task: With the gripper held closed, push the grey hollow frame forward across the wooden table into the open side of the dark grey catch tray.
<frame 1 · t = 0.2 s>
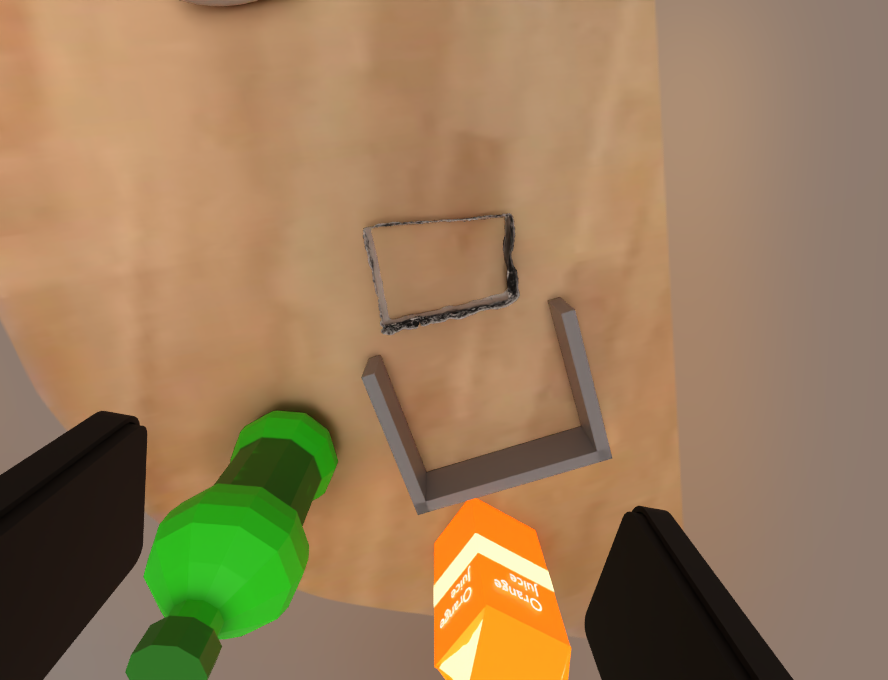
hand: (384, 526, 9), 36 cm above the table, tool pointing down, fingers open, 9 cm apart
catch tray: (483, 391, 48), on the table
orange juice: (484, 535, 54), on the table
plastic bottle: (296, 439, 49), on the table
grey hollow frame: (443, 267, 45), on the table
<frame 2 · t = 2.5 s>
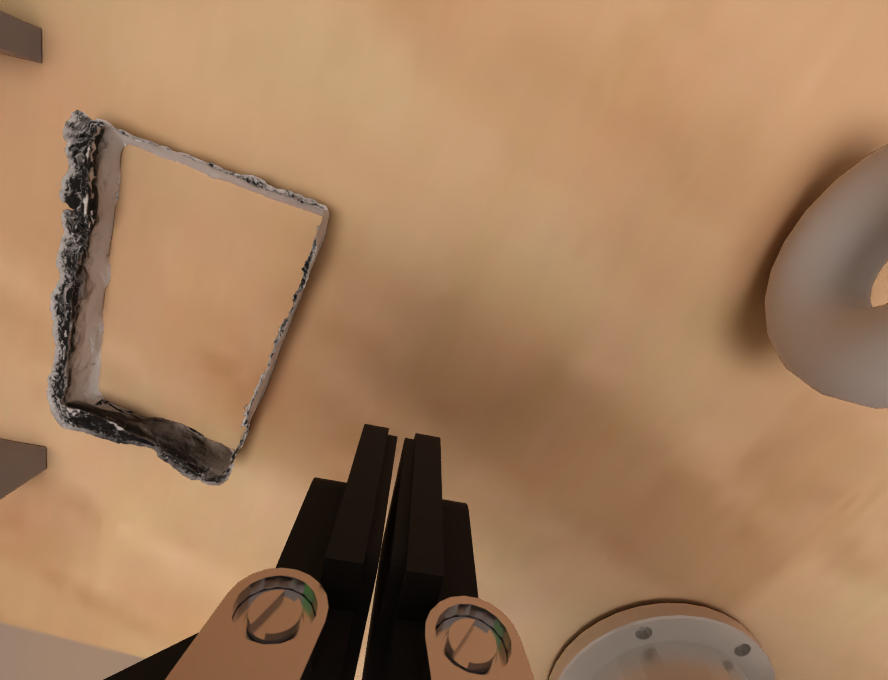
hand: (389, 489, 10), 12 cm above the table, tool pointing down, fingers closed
donut: (795, 250, 21), on the table
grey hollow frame: (196, 305, 22), on the table
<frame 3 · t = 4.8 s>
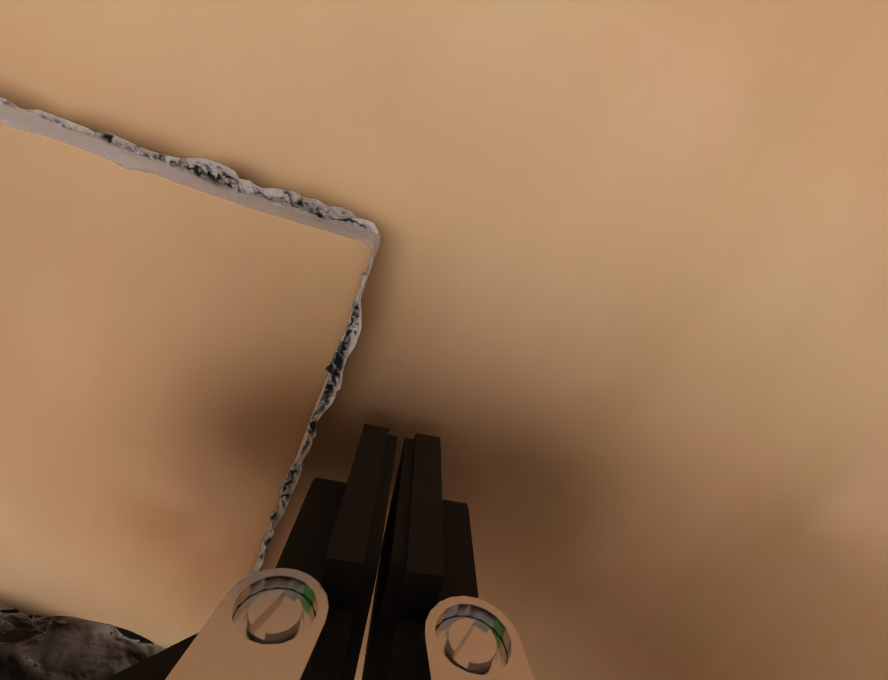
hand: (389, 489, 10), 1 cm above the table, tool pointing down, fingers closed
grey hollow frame: (119, 417, 11), on the table, touching gripper
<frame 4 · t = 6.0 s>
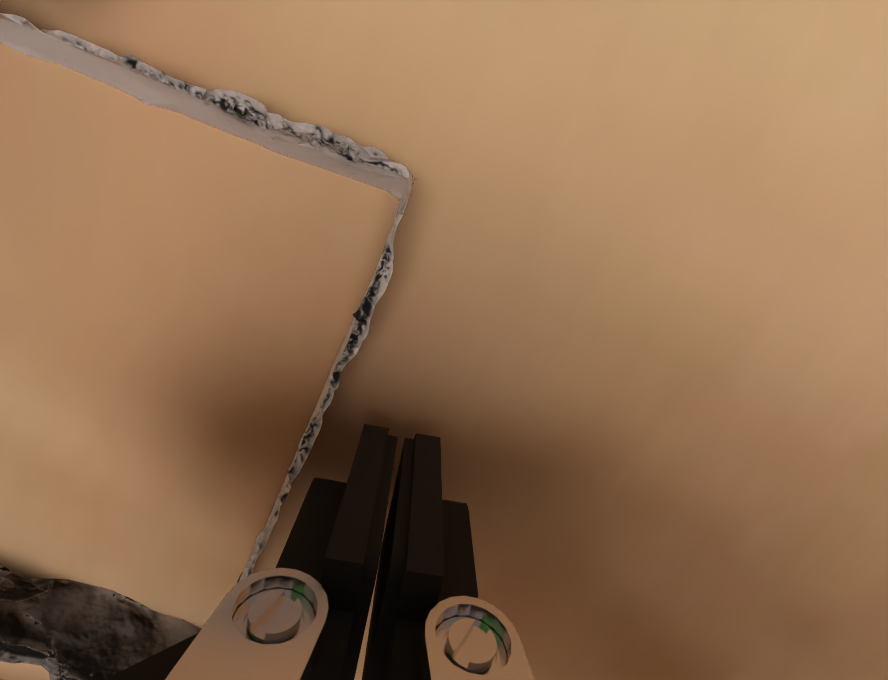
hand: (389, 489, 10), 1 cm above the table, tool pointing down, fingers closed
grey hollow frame: (129, 371, 11), on the table
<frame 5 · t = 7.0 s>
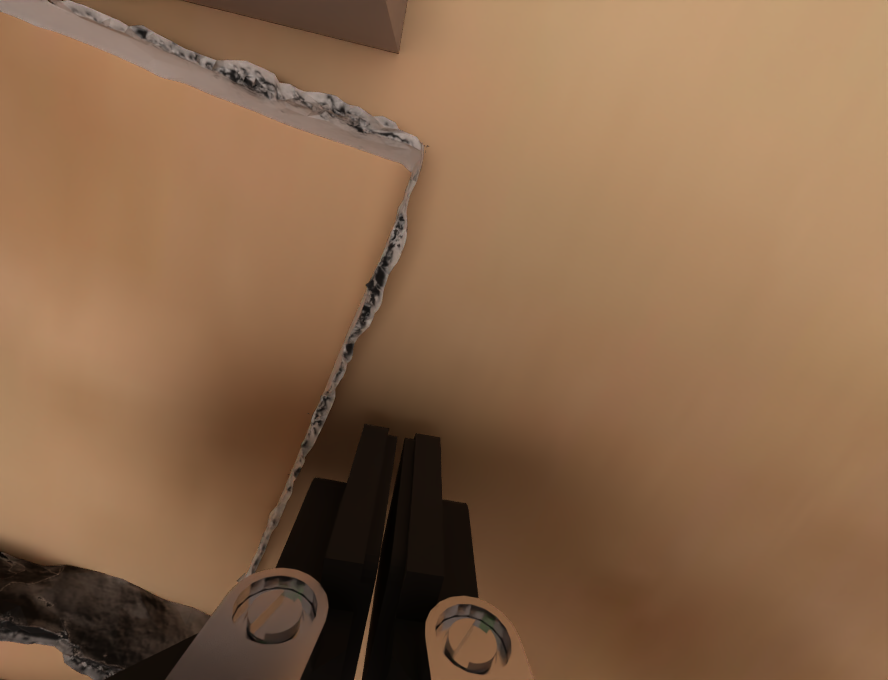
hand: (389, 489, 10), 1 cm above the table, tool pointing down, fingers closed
catch tray: (15, 403, 10), on the table
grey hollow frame: (138, 353, 11), on the table
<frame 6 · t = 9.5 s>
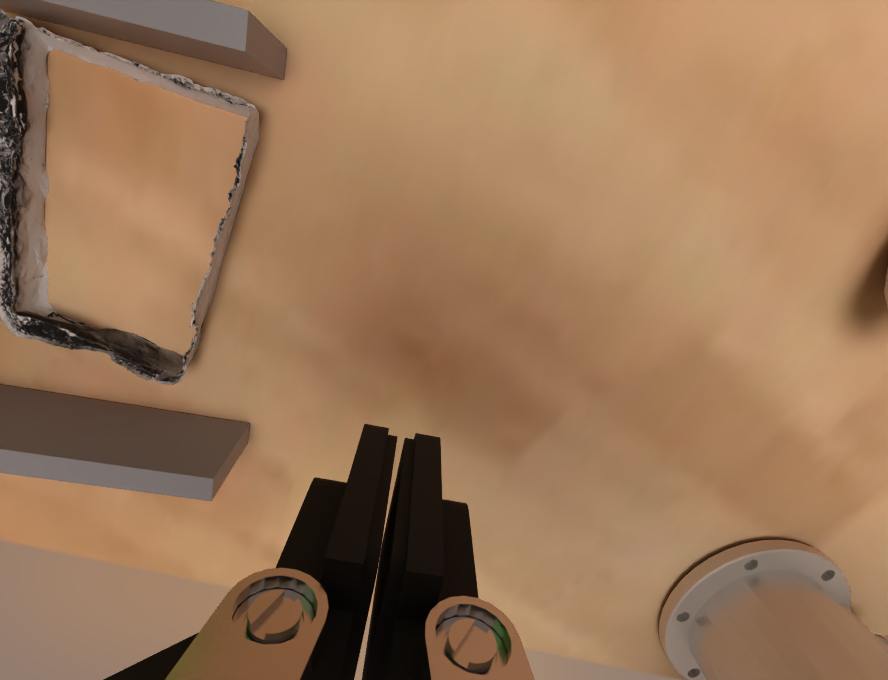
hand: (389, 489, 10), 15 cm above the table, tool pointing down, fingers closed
catch tray: (112, 241, 22), on the table
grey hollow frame: (138, 216, 23), on the table
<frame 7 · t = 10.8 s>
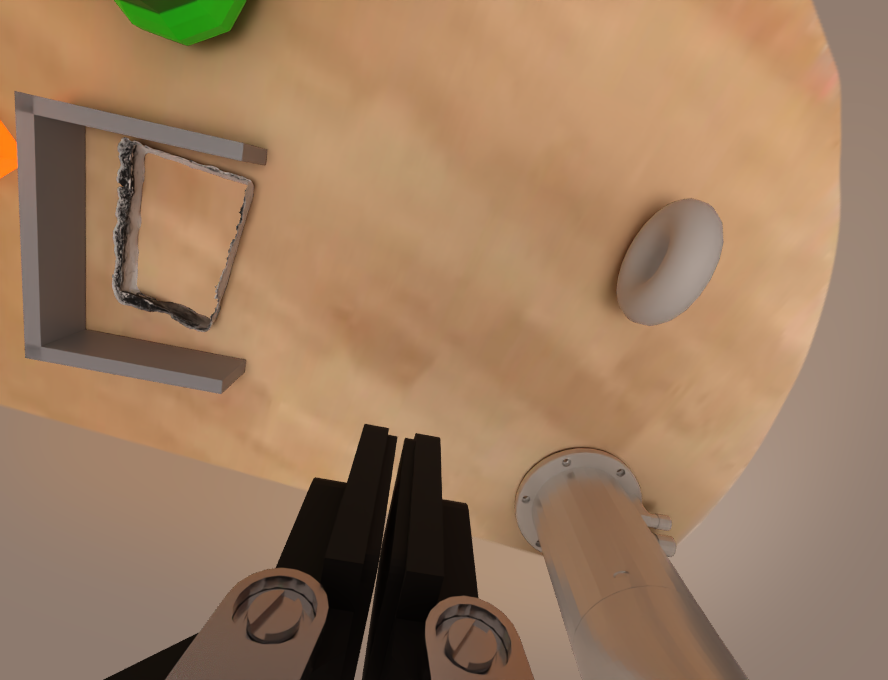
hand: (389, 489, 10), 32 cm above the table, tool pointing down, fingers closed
donut: (636, 254, 41), on the table
catch tray: (171, 250, 40), on the table
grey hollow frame: (187, 238, 40), on the table
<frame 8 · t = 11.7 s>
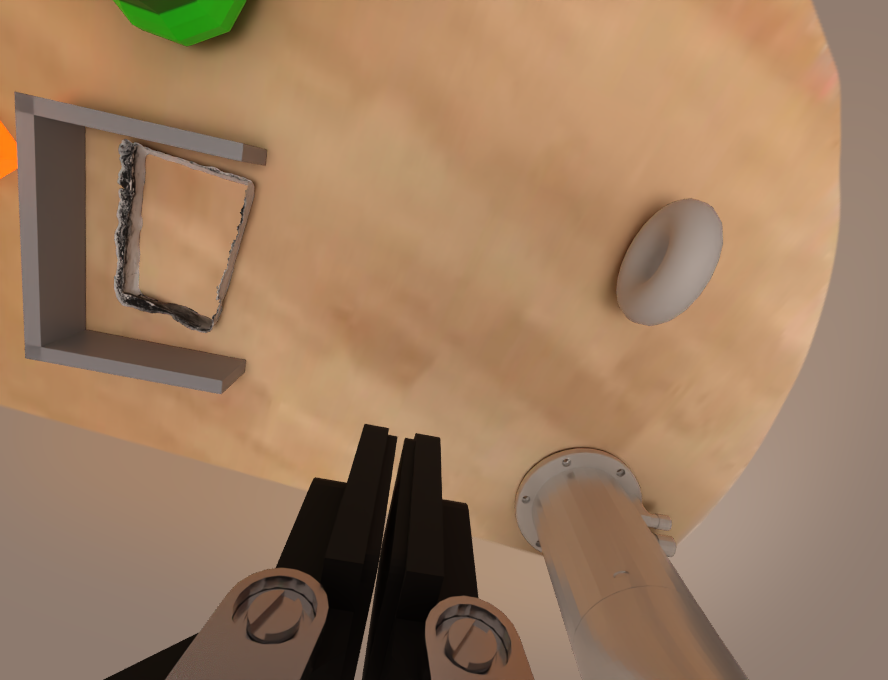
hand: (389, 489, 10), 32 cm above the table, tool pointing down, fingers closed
donut: (636, 254, 41), on the table
catch tray: (171, 251, 40), on the table
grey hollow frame: (189, 239, 41), on the table
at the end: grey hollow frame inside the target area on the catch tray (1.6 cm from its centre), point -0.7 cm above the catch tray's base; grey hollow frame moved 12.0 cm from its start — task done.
